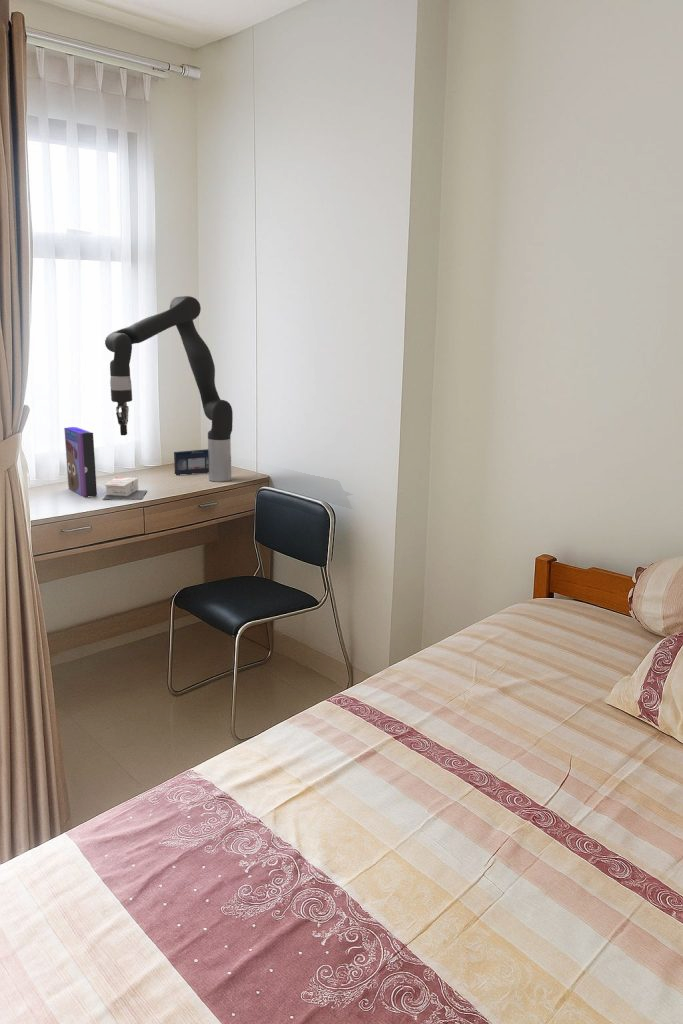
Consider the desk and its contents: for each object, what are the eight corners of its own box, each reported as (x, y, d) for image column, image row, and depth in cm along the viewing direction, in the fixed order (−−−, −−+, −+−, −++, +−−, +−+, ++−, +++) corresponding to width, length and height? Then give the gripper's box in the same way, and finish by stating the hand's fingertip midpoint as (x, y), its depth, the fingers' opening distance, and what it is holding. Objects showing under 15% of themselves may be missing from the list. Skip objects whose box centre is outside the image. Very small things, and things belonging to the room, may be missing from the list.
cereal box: (68, 488, 302) (64, 427, 297) (80, 487, 305) (76, 426, 299) (84, 497, 289) (80, 433, 283) (97, 495, 292) (93, 432, 286)
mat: (147, 491, 301) (146, 490, 301) (141, 499, 287) (141, 498, 287) (109, 491, 299) (109, 490, 299) (102, 500, 286) (102, 498, 286)
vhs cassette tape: (176, 475, 330) (175, 452, 328) (174, 474, 333) (173, 451, 330) (217, 472, 339) (216, 449, 337) (214, 471, 342) (214, 448, 339)
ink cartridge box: (117, 489, 302) (102, 497, 288) (116, 476, 301) (101, 483, 287) (138, 490, 301) (125, 498, 287) (138, 477, 300) (124, 484, 286)
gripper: (128, 390, 281) (131, 437, 285) (134, 386, 294) (136, 432, 298) (107, 390, 280) (110, 437, 285) (113, 386, 293) (116, 432, 297)
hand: (124, 434), depth 291 cm, fingers closed
